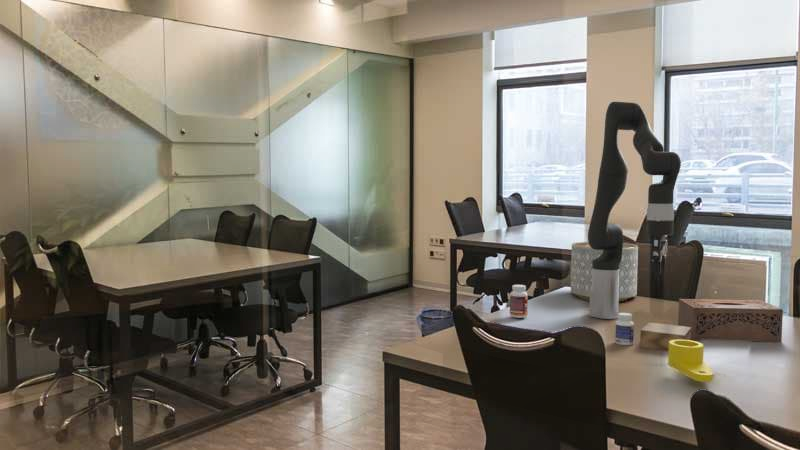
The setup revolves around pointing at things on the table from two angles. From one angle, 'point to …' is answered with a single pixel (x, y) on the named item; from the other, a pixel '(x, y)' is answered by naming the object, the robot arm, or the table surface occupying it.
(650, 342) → the walnut block
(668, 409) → the table surface
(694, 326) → the tissue box cover
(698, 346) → the crank
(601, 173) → the robot arm
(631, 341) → the pill bottle
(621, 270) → the planter
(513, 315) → the pill bottle
